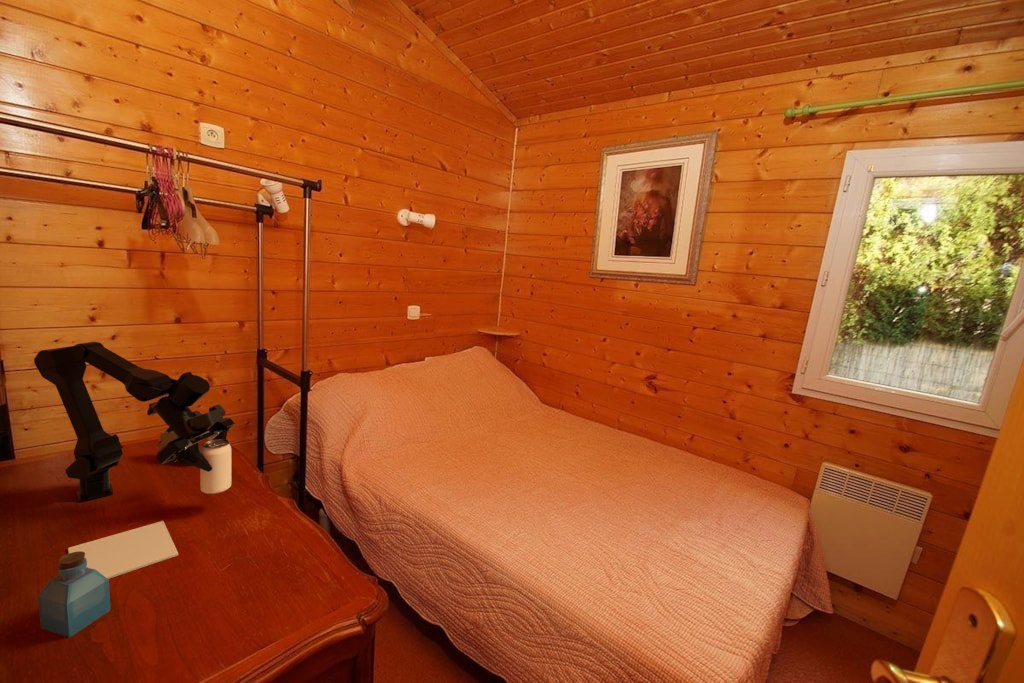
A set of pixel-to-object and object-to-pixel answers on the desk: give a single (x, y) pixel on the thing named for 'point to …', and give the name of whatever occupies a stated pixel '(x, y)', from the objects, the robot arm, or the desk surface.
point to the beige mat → (128, 550)
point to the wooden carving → (167, 438)
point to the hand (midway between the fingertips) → (220, 464)
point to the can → (216, 466)
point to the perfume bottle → (73, 597)
